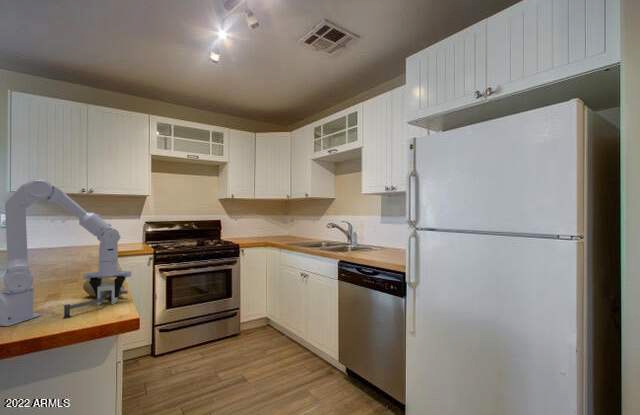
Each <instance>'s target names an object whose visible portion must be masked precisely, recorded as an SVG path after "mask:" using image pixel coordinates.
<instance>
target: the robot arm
mask: <svg viewBox="0 0 640 415" xmlns="http://www.w3.org/2000/svg"><path fill="white" fill-rule="evenodd" d="M46 198H47V199H46ZM44 199H46V201H47V202H52V203H56V204H58V205H60V206H61V207H62V208H64V209H65V210H67V212H69V213H71V214H72V215H74V216H75V217H76V218H78V219H79V221H78V223H79V224H78V225H79V226H80V227H82V228H83V229H85V230H86V231H87V232H89V233H90V234H92V236H94V237H96V238H97V240H98V241H99V248H98V271H96V272H86V273H83V280H87V279H90V281H89V283H90V285H91V286H92V288H93V290H94V292H95V295H96V297H95V298H96V299H97V291H98V286H100V285H101V281H102V278H109V279H112V278H114V279H113V280H114V281H115V298H117V297H118V298H119V297H120V296H119V292H120V289H121V286H122V285H123V284H124V282H125V280H126V278H131V277H132V270H118V265H119V264H118V263H119V261H118V260H119V257H118V256H119V248H118V244H119V243H118V242H119V241H120V239H121V235H120V232H119V231H118V230H117V229H116V228H112V224H111V223H107V222H106V221H105V220H104V219H103V218H101V217H102V216H101V214H99V213H95V212H88V211H86V210H85V209H84V208H83V207H81V206H80V204H78V203H77V202H76V201H75V200H74V199H72V198H71V197H70V196H68V194H66V192H64V191H62V190H61V189H59V187H57V186H55V185H52V184H51V183H50V181H47V180H45V179H42V178H34V179H32V180H31V179H30V181H27V182H26V183H24V184H22V185H21V186H19V187H18V188H17V190H16V191H15V192H14V193H12V195H10V197H9V198H8V199H7V200H6V202H5V204H4V211H5V214H4V215H5V233H6V234H5V236H6V257H7V258H6V259H7V260H6V261H7V265H6V266H7V271H6V272H5V274H4V275H3V283H4V284H3V285H4V288H3V289H1V292H0V327H9V326H12V325H13V326H14V325H17V324H20V323H23V322H24V321H28V320H31V319H34V318H37V317H40V316H42V314H41V313H34V308H35V307H34V305H35V301H34V300H35V299H34V298H35V297H34V296H35V287H34V286H32V285H33V283H34V277H33V275H32V273H31V271H30V268H29V267H30V266H29V259H28V257H29V256H28V238H27V236H28V235H27V215H26V214H27V209H28V208H30V207H31V206H32V205H34V204H35V203H36V202H38V201H41V200H44ZM101 276H102V277H101Z"/></svg>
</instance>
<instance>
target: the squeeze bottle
mask: <svg viewBox="0 0 640 415" xmlns="http://www.w3.org/2000/svg"><path fill="white" fill-rule="evenodd" d="M101 277H102V276H101ZM89 281H90V279H85V281H84V283H83V286H82V289H83V291H84V292H85V293H86V294H88V295H89V296H90V297H95V298H96V295H95V292H94V290H93V288H92V286H91V285H90V283H89ZM101 284H115V281H114V279H112V278H102V281H101ZM108 292H109V290H108V291H104V295H105V294H107V293H108ZM128 293H129V291H128V290H127V289H125V286H124V285H123V284H122V286H121V289H120V292H119V296H118V297H121V296H122V295H127V294H128ZM107 299H109V297H108V298H107Z"/></svg>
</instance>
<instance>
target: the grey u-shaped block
mask: <svg viewBox="0 0 640 415" xmlns="http://www.w3.org/2000/svg"><path fill="white" fill-rule="evenodd" d="M108 290H112V301H111V305H114V304H116V303H117V302H118V300H119V299H118V298H119V296H118V297H117V298H115V284H101V285H100V286H98V291H97V299H99V298H101V297H103V296H104V291H108ZM104 302H105V300H104V301H103V302H98V303H96V305H97V306H101V305H102V304H104Z"/></svg>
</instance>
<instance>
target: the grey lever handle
mask: <svg viewBox="0 0 640 415" xmlns="http://www.w3.org/2000/svg"><path fill="white" fill-rule="evenodd" d="M108 297H109V298H108ZM106 299H107V302H112V290H109V292H108V293H107V294H105V295H104V296H103V297H101V298H99V299H91V300H87V301H83V302H78V303H75V304H67V303H66V304H64V305H63V316H62V318H63V319H70V318H71V316H72V315H71V310H73V309H76V308H82V307H87V306H89V305H93V304H97V303H98V302H103V301H104V302H105V300H106ZM104 302H103V303H104Z"/></svg>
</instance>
